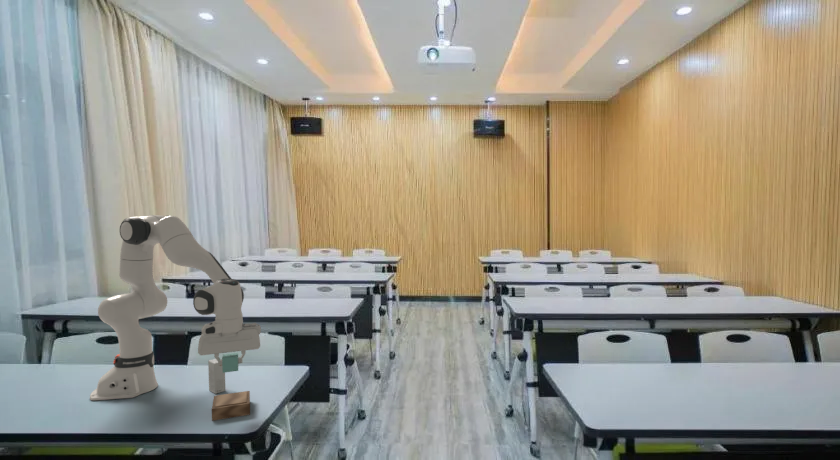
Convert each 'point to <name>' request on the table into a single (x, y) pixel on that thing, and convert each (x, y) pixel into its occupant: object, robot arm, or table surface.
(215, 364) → the skincare box
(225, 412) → the tray
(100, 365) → the table surface
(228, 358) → the teal cube
